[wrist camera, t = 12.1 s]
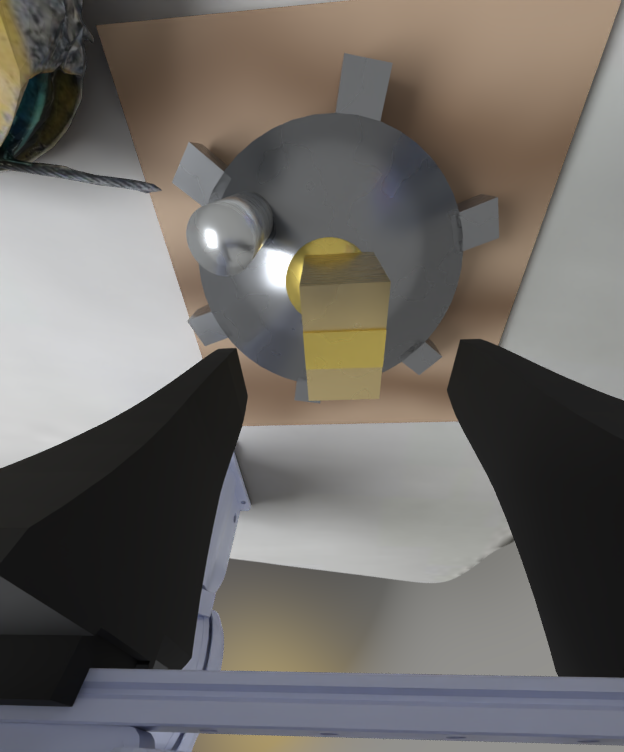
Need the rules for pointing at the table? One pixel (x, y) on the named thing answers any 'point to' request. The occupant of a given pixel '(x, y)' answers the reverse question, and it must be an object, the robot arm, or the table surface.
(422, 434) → the table surface
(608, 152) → the table surface
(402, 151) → the grey lugged dome
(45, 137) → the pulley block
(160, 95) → the light brown board
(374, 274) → the yellow-banded wooden block
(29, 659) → the robot arm
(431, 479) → the table surface
